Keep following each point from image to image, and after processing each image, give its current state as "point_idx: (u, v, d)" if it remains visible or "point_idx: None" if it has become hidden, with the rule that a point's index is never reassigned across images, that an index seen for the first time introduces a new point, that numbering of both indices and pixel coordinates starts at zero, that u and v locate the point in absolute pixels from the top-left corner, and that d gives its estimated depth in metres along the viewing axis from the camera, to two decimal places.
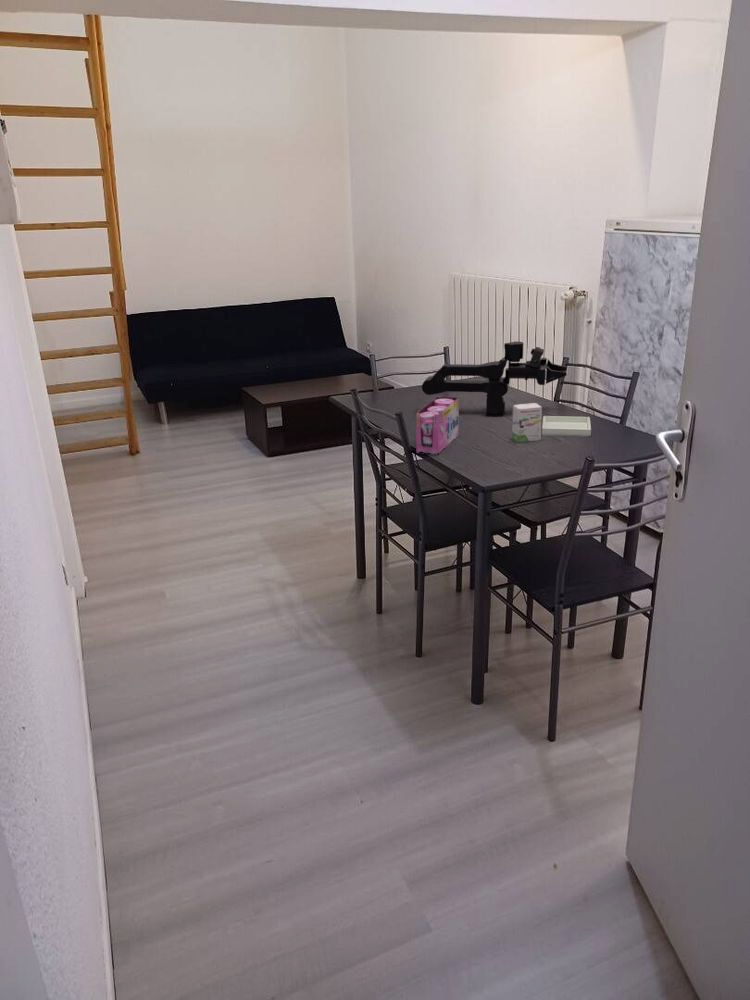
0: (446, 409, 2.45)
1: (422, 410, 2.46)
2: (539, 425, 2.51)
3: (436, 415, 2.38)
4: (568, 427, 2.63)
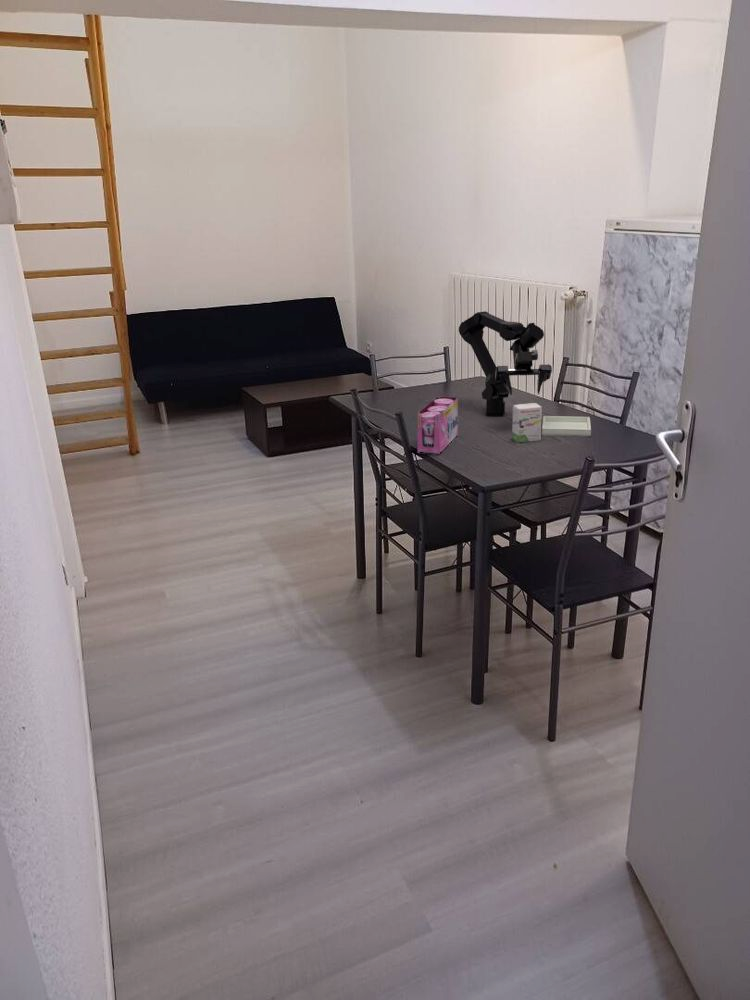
0: (447, 409, 2.45)
1: (423, 410, 2.46)
2: (539, 425, 2.51)
3: (437, 415, 2.38)
4: (568, 427, 2.63)
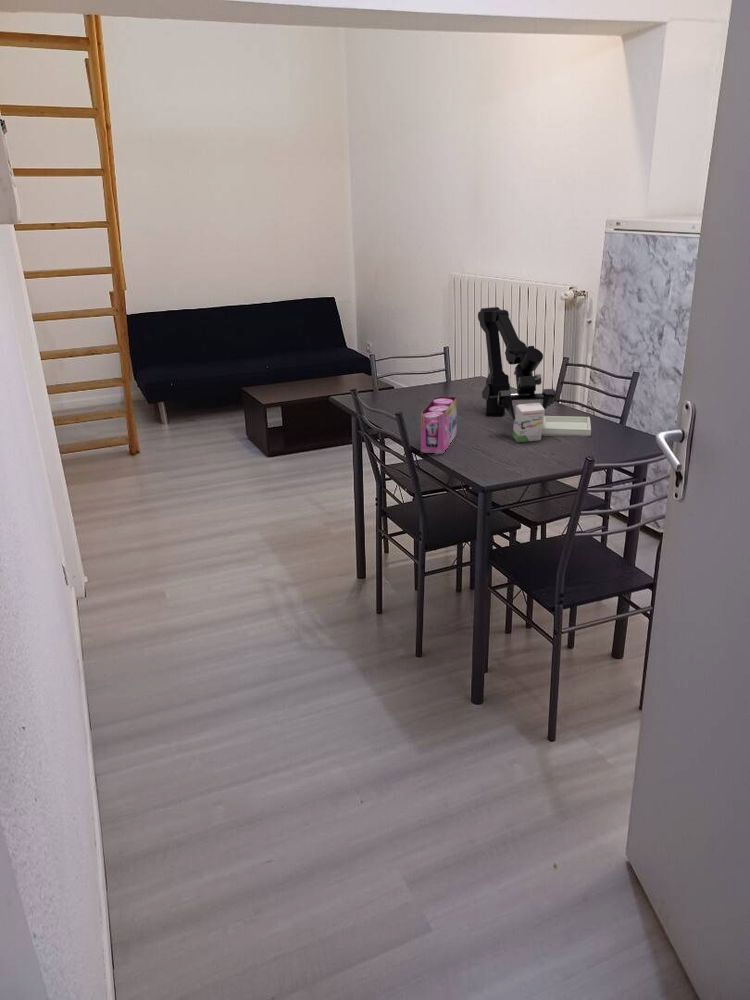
0: (448, 409, 2.46)
1: (424, 410, 2.46)
2: (540, 426, 2.50)
3: (441, 415, 2.38)
4: (568, 427, 2.63)
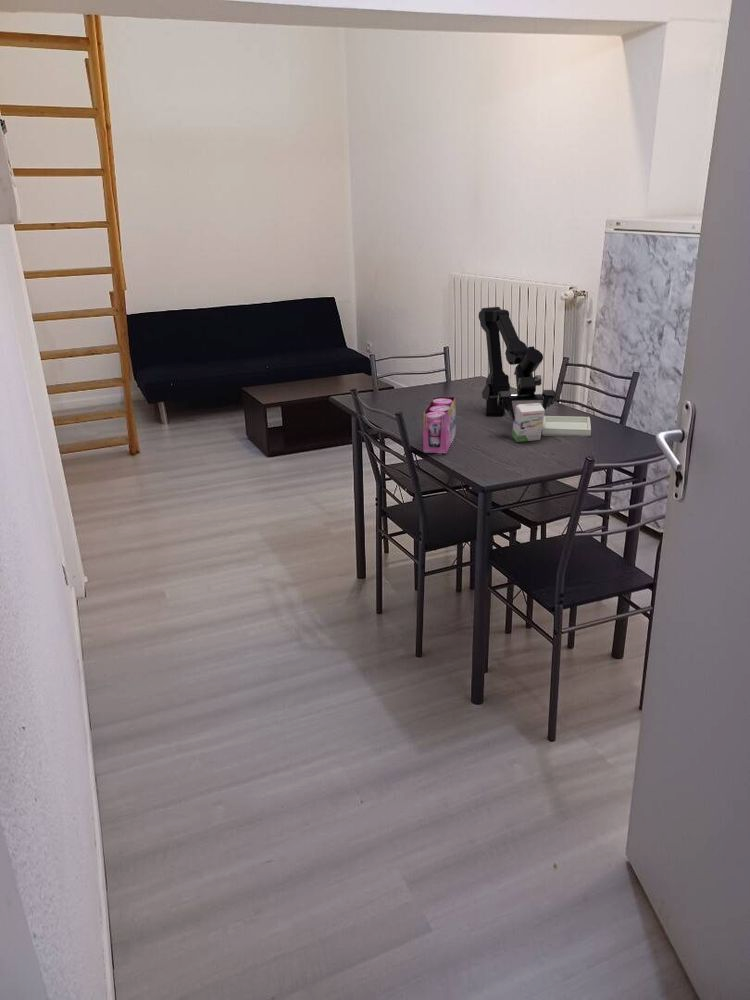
0: (450, 409, 2.46)
1: (426, 411, 2.45)
2: (540, 426, 2.50)
3: (444, 415, 2.38)
4: (568, 427, 2.63)
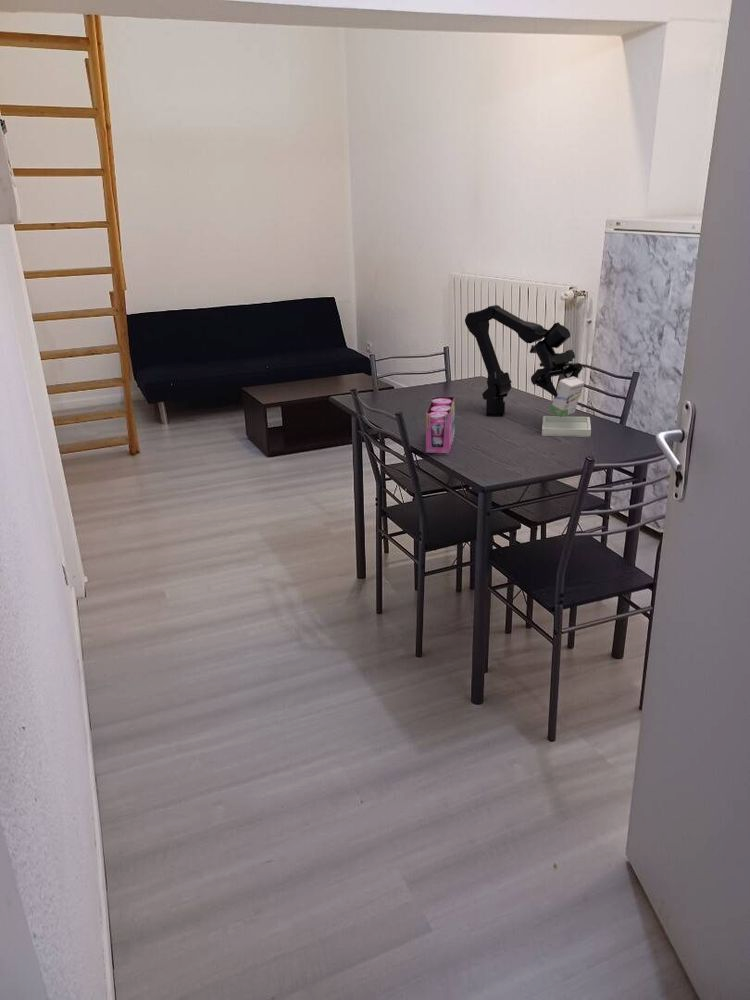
0: (451, 408, 2.46)
1: (427, 411, 2.45)
2: (578, 399, 2.58)
3: (447, 415, 2.38)
4: (568, 427, 2.63)
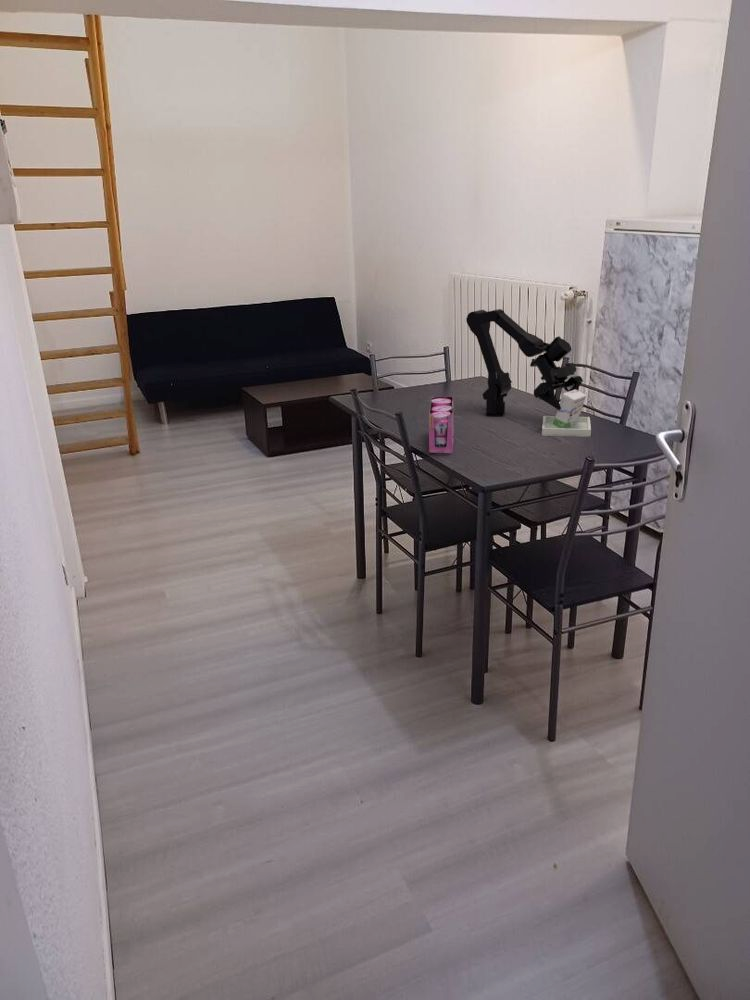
0: (452, 408, 2.46)
1: None
2: None
3: (450, 414, 2.38)
4: None
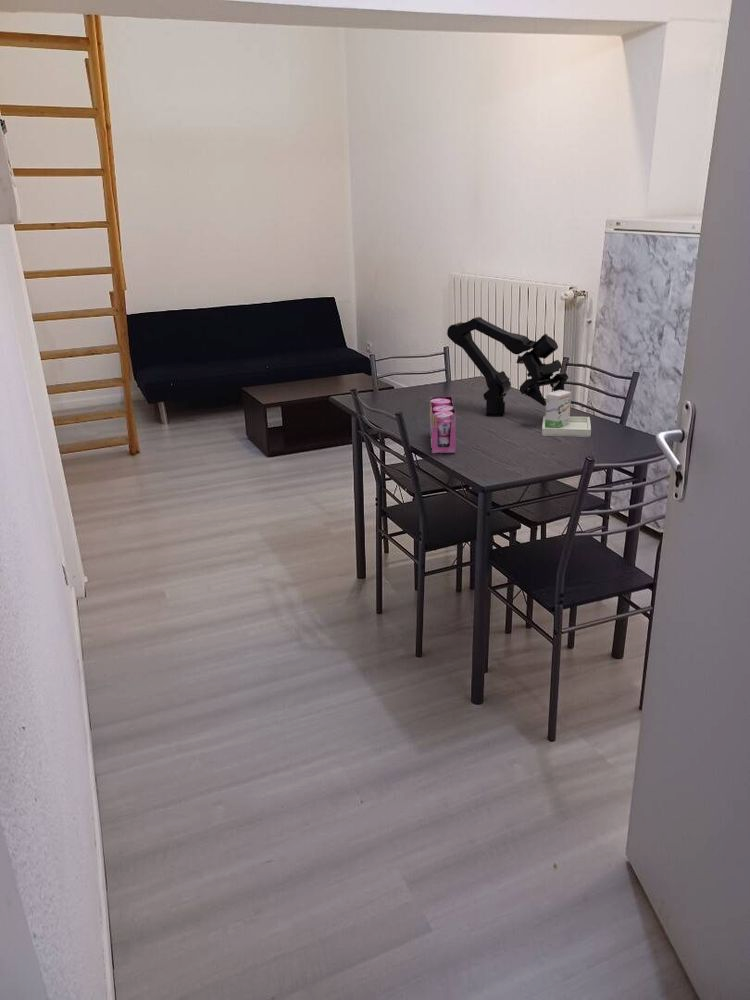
0: (454, 408, 2.46)
1: (431, 411, 2.45)
2: (569, 410, 2.65)
3: (454, 414, 2.38)
4: (568, 427, 2.63)
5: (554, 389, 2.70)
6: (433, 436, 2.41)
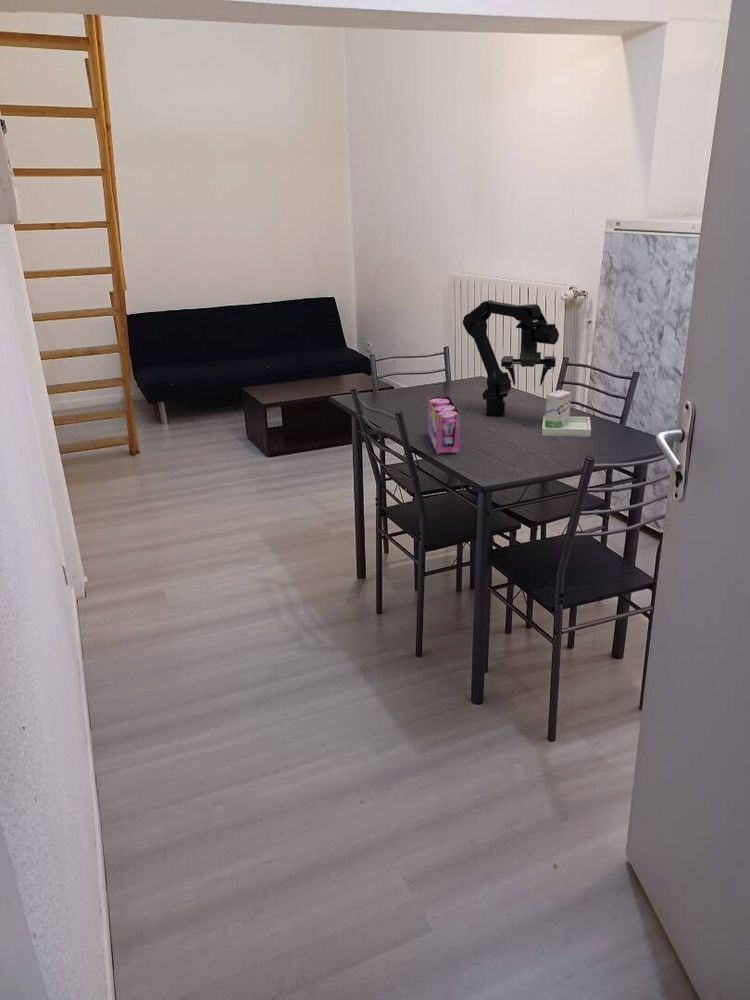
0: (456, 407, 2.47)
1: (434, 411, 2.44)
2: (569, 410, 2.65)
3: (458, 414, 2.39)
4: (568, 427, 2.63)
5: None
6: (438, 436, 2.41)
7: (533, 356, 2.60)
